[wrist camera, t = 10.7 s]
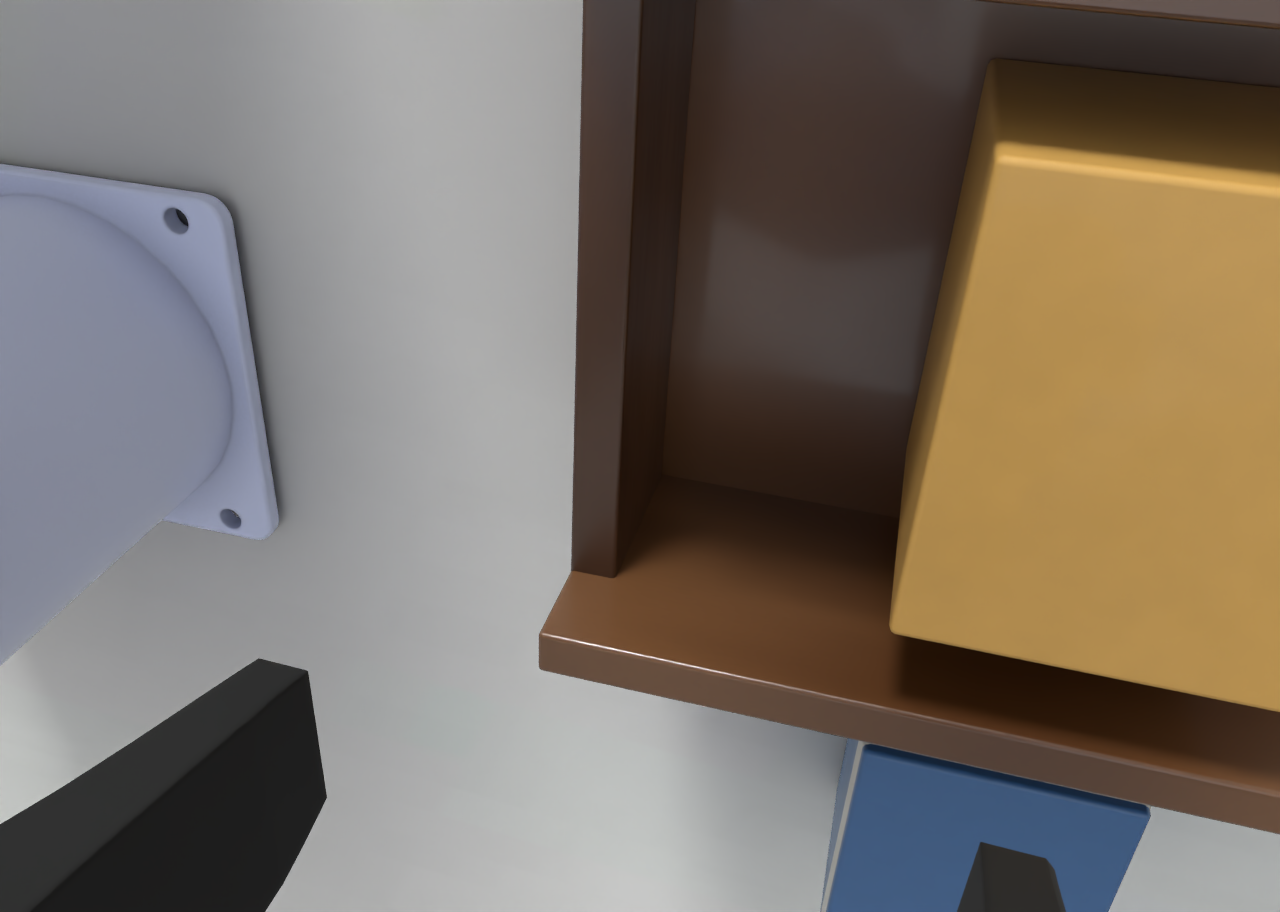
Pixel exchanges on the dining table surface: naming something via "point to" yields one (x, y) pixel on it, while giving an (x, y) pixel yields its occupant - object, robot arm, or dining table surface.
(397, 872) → the dining table surface
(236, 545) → the dining table surface
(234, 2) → the dining table surface
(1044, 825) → the blue book
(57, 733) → the dining table surface
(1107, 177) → the ochre carton
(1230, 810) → the shelf
